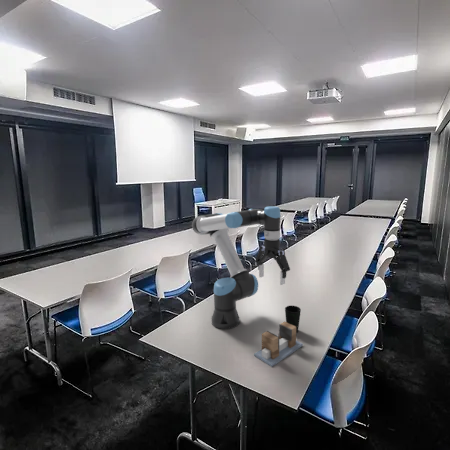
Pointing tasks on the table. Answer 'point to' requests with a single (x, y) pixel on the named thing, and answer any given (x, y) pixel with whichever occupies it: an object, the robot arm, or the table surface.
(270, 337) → the two-tone tabbed box
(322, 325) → the table surface
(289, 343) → the fixed jaw
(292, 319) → the cup
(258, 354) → the rail
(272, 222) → the robot arm
